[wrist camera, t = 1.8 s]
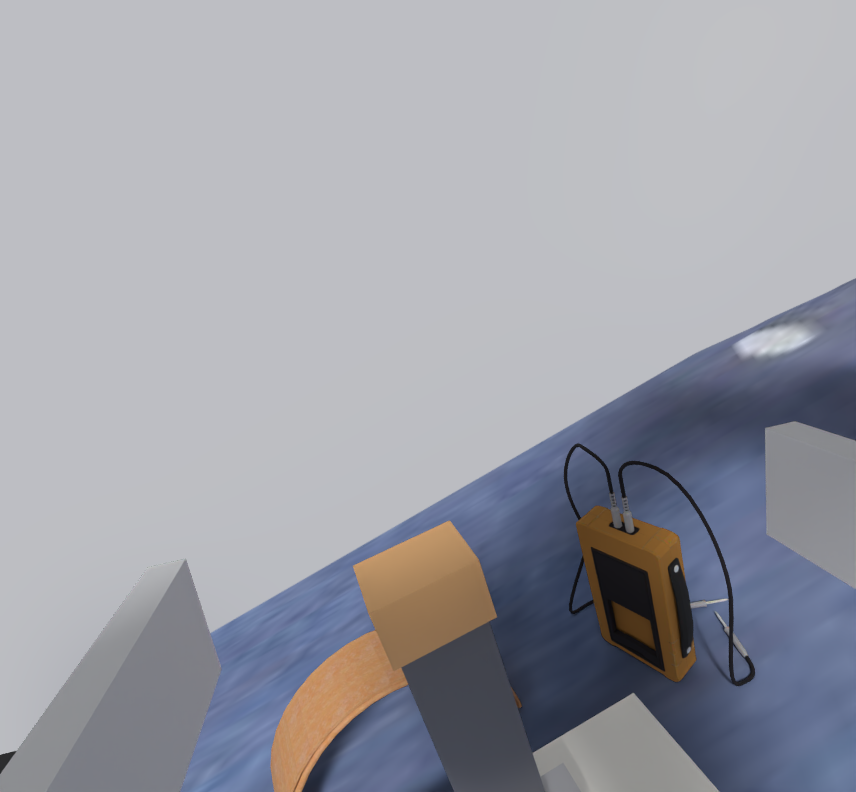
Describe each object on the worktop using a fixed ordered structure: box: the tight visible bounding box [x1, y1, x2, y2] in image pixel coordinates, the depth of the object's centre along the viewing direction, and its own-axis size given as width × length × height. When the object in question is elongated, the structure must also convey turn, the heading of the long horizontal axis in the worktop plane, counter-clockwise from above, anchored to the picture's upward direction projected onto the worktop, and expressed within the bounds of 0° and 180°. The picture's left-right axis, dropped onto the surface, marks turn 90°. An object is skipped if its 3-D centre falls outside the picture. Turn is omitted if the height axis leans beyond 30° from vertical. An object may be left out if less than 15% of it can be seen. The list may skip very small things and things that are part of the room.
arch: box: [271, 630, 522, 792], centre depth 40 cm, size 6×20×10 cm, turn 115°
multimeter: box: [564, 443, 755, 686], centre depth 42 cm, size 15×10×20 cm
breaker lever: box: [353, 521, 545, 792], centre depth 25 cm, size 5×3×20 cm
